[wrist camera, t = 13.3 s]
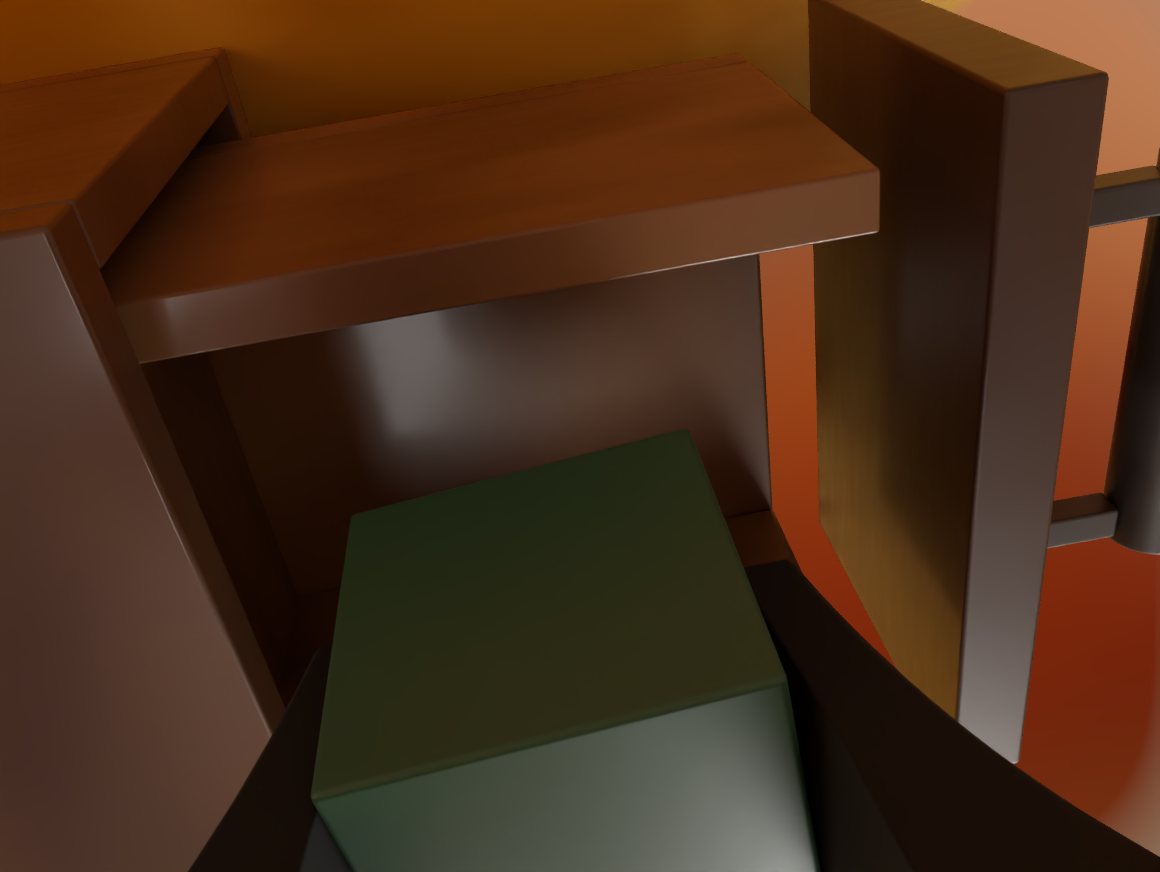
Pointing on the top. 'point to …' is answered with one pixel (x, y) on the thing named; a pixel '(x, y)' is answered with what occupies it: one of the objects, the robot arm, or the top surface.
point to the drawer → (670, 321)
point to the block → (559, 681)
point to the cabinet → (107, 500)
